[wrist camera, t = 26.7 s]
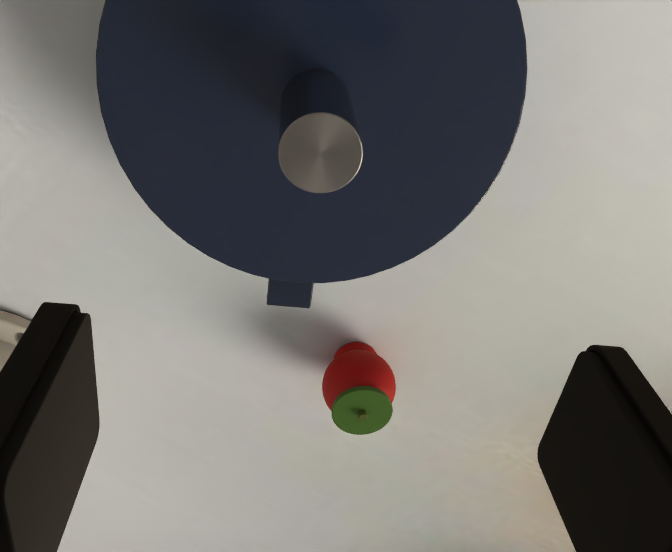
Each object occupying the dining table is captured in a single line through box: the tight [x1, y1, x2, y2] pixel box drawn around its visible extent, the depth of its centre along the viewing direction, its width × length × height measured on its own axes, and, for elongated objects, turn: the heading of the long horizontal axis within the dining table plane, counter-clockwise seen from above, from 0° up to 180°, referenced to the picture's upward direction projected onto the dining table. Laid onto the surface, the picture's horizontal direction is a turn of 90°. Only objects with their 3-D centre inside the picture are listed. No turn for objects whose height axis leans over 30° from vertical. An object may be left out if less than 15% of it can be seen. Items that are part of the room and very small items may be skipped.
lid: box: [96, 0, 527, 283], centre depth 25 cm, size 18×18×7 cm
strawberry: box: [322, 342, 396, 435], centre depth 41 cm, size 5×5×6 cm
